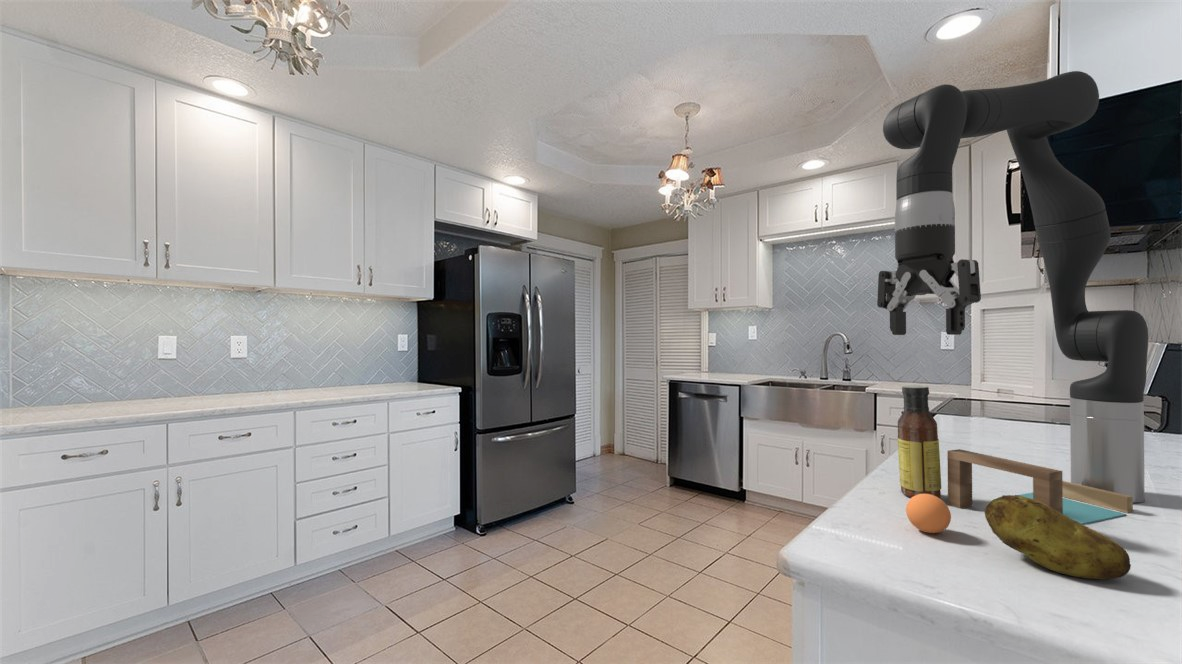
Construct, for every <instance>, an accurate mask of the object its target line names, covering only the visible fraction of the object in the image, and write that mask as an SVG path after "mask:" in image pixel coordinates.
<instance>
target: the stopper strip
mask: <svg viewBox="0 0 1182 664" xmlns="http://www.w3.org/2000/svg"><path fill="white" fill-rule="evenodd" d="M1062 481H1063V498H1065V499H1069V500H1073V501H1077V502H1081V503H1085V504H1089V505H1092V506H1096V507H1100V508H1104V509H1108V510H1112V511H1116V512H1120V513H1124V514H1126V513H1127V514H1129V513H1133V512H1134V509H1133V508H1134V503H1133V497H1132V496H1128V495H1123V494H1119V493H1115V492H1110V491H1106V490H1101V489H1097V488H1092V487H1088V486H1084V485H1079V484H1075V483H1071V481H1070V482H1069V481H1066V480H1062Z"/></svg>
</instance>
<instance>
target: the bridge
mask: <svg viewBox="0 0 1182 664" xmlns="http://www.w3.org/2000/svg"><path fill="white" fill-rule="evenodd" d="M946 452H947V506H948V505H949V506H951V507H956V508H959V509H964V508H968V507H973V465H978V466H980V467H981V466H983V467H986V468H990V469H994V470H999V471H1004V472H1008V473H1012V474H1017V475H1020V476H1025V477H1030V478H1032V487H1033V488H1032V493H1033V499H1035V500H1037V501H1040V502H1042V503H1044V504H1046V505H1048V506H1050V507H1052V508H1053V509H1055V510H1056V511H1058V512H1060V513H1062V514H1063V498H1064V497H1063V481H1064V480H1063V470H1059V469H1055V468H1051V467H1045V466H1041V465H1036V464H1032V463H1026V462H1021V461H1017V460H1013V459H1007V458H1004V457H1003V458H1002V457H997V456H993V455H988V454H984V453H979V452H975V451H970V450H965V449H958V448H957V449H952V450H947V451H946Z"/></svg>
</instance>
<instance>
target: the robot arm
mask: <svg viewBox="0 0 1182 664" xmlns="http://www.w3.org/2000/svg"><path fill="white" fill-rule="evenodd" d="M1099 103H1100V92H1099V88H1098V85H1097V83H1096V81H1095V79H1094V78H1093V77H1092V76H1091V75H1090V74H1088V73H1086V72H1083V71H1081V70H1072V71H1068V72H1063V73H1060V74H1057V75H1055V76H1052V77H1050V78H1047V79H1045V80H1041V81H1037V82H1030V83H1026V84H1020V85H1013V86H1005V87H994V88H981V89H980V88H978V89H967V90H962V91H961V90H960V88H958V87H957V86H955V85H952V84H941V85H937V86H934V87H932V88H931V89H928V90H926V91H924V92H922V93H920V94H918V95H916V96H914V97H912V98H910V99H907V100H905V101H904V102H901V103H900V104H897V105H896V106H894V107H893V108H892V109H891V110H890V111H889V112H888V113H887V115H886V116H885V118H884V121H883V125H882V132H883V136H884V138H885V141H886V142H887V143H888V144H890V145H891V146H892V147H894V148H897V149H899V150H913V149H917V148H918V150H917V151H916V152H915V153H914V154H913V155H911V156H910V157H909V158H908V159H906V160H904V161H903V162H902V163H900V165H899V166H898V168H897V170H896V182H895V183H896V205H895V211H894V212H895V213H894V258H895V260H896V261H897V268H896V270H880V271H879V272H878V281H877V283H878V284H877V307H878V308H881V309H886V310H887V311H888V312H889V331H890V332H891V334H892V335H893V336H905V335H906V333H907V311H905V309H906V308H907V306H908V305H909V303H910V302H911V301H912V300H914V299H915V298H916V297H917V296H925V295H935V296H936V297H939V298H940V299H941V300H942V301H943V302H944V304H945V306H946V307H947V308H946V309H945V333H946V335H949V336H950V335H951V336H954V335H955V336H956V335H957V336H958V335H962V333H963V331H964V330H965V328H966V308H967V306H970V305H972V304H974V303H975V304H976V303H979V302H981V298H982V296H981V294H982V293H981V282H980V281H981V280H980V270H979V268H980V267H979V262H978V261H977V260H975V259H960V260H957V262H955V261H954V258H953V257H954V256H955V254H956V210H955V209H956V208H955V203H954V202H955V201H954V196H953V191H954V190H953V166H954V162H955V158H956V157H957V152H958V149H959V145H960V141H961V139H969V138H977V137H983V136H988V135H992V134H996V133H1000V132H1004V131H1006V133H1007V135H1008V139H1009V142H1010V144H1011V147H1012V150H1013V153H1014V156H1015V158H1016V161H1017V163H1018V167H1019V169H1020V172H1021V174H1022V177H1023V181H1024V185H1025V188H1026V192H1027V195H1028V199H1029V204H1030V209H1031V214H1032V219H1033V225H1034V229H1035V233H1036V236H1037V241H1038V245H1039V248H1040V251H1041V255H1042V259H1043V262H1044V266H1045V270H1046V271H1045V272H1046V276H1047V281H1048V286H1049V290H1050V298H1051V306H1052V315H1053V324H1054V330H1055V331H1054V332H1055V336H1056V342H1057V344H1058V347H1059V350H1060V351H1061V353H1062V355H1064V357H1065V358H1067V359H1069V360H1073V361H1083V362H1101V363H1102V362H1103V363H1105V362H1106V363H1107V366H1106V369H1105V371H1104V372H1102V373H1100V374H1098V375H1096V376H1094V377H1093V376H1092V377H1090V378H1086V379H1080V380H1076V381H1073V382H1072V383H1070V386H1069V419H1070V421H1069V426H1070V428H1069V429H1070V432H1069V433H1070V435H1069V437H1070V438H1069V439H1070V483H1075V484H1079V485H1084V486H1088V487H1092V488H1097V489H1101V490H1106V491H1110V492H1115V493H1119V494H1123V495H1128V496H1132V497H1133V504H1134V503H1135V504H1136V503H1143V502H1144V501H1146V500H1145V414H1144V407H1145V405H1144V399H1145V398H1144V394H1145V388H1146V384H1147V367H1148V366H1147V363H1148V351H1149V329H1148V328H1149V327H1148V324H1147V322H1146V319H1145V318H1144V316H1143V315H1142V314H1141V313H1139V312H1137V311H1135V310H1131V309H1130V310H1128V309H1127V310H1126V309H1124V310H1123V309H1122V310H1121V309H1118V310H1092V311H1090V310H1088V308H1087V305H1086V288H1087V284H1088V281H1089V279H1090V276H1091V275H1092V273H1093V272H1094V270H1095V269H1096V267H1097V265H1098V264H1099V262H1100V261H1101V259H1102V257H1103V256H1104V253H1105V251H1106V250H1107V248H1108V246H1109V244H1110V240H1111V236H1112V235H1111V234H1112V233H1111V227H1110V223H1109V219H1108V218H1109V217H1108V214H1107V209H1106V205H1105V202H1104V200H1103V198H1102V196H1101V195H1100V194H1099V193H1098V192H1097V191H1096V190H1095V189H1094V188H1092V187H1091V186H1090V185H1088V184H1087V183H1086V182H1084V181H1083V180H1082V179H1080V178H1079V177H1078V176H1076V175H1075V174H1073V173H1072V172H1070V171H1069V170H1068V169H1067V168H1065V167H1064V166H1063V165H1062V164H1061V163H1060V161H1059V160H1058V159H1057V157H1056V155H1055V154H1054V152H1053V149H1052V148H1051V146H1050V142H1049V140H1048V137H1050V136H1052V135H1056V134H1058V133H1062V132H1065V131H1068V130H1071V129H1074V128H1076V127H1078V126H1080V125H1082V124H1084V123H1085V122H1088V120H1090V119H1091V118H1093V116H1094V115H1095V113H1096V112H1097V110H1098V107H1099ZM954 275H956V276H957V278H958V279H957V280H958V281H957V282H958V286H957V285H956V284H955V283H954V282H953V281H952V278H953V276H954ZM898 282H899V283H898ZM897 283H898V285H897ZM896 285H897V286H896Z"/></svg>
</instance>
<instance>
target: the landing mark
mask: <svg viewBox="0 0 1182 664" xmlns="http://www.w3.org/2000/svg"><path fill="white" fill-rule="evenodd" d="M1018 495H1019V496H1022V497H1027V498H1031V499H1033V492H1029V493H1028V492H1027V493H1023V494H1022V493H1021V494H1018ZM994 499H995V498H993V499H992V500H994ZM1063 515H1065V516H1067V517H1069V518H1071V519H1072V520H1074V521H1077V522H1079V523H1080V524H1082V525H1087V524H1091V523H1096V522H1101V521H1105V520H1111V519H1115V518H1120V517H1124V516H1127V514H1126V513H1125V512H1121V511H1117V510H1113V509H1109V508H1105V507H1101V506H1097V505H1093V504H1089V503H1085V502H1081V501H1078V500H1074V499H1070V498H1066V497H1063Z"/></svg>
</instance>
